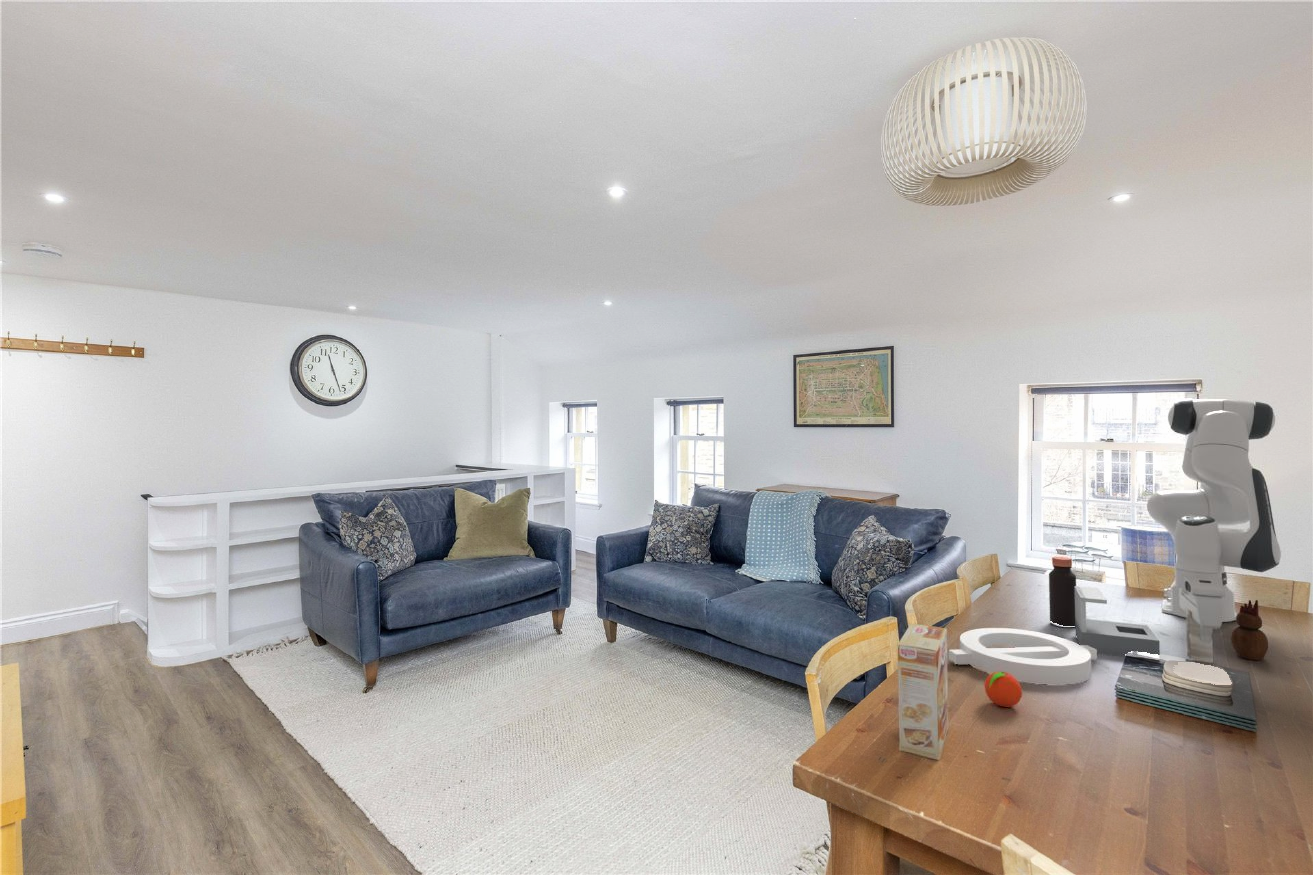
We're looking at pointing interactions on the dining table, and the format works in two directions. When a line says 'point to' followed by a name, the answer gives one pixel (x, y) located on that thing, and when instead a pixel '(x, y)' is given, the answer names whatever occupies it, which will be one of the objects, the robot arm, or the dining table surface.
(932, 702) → the coffeecake box
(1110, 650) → the socket block
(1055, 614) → the bottle
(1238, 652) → the wooden figurine
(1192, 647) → the peg
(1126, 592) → the dining table surface
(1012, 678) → the clementine
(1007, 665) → the ring with crossbar
